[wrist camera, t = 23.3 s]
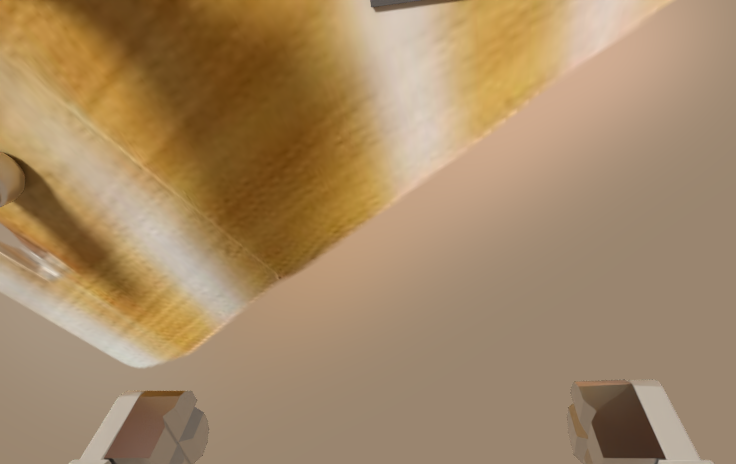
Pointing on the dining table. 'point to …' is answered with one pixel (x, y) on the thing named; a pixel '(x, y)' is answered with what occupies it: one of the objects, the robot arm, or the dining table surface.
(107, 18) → the dining table surface
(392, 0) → the rubber mat
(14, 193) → the plastic bottle
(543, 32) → the dining table surface
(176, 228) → the dining table surface
